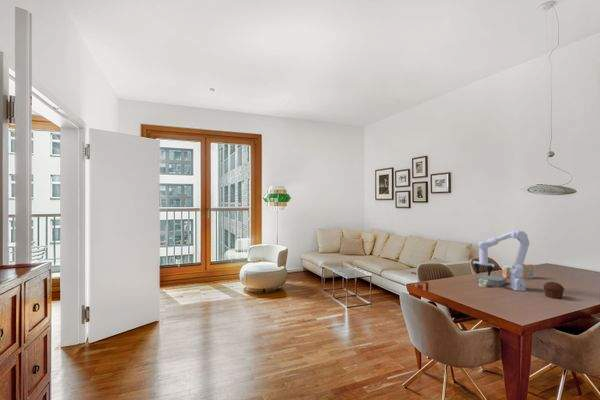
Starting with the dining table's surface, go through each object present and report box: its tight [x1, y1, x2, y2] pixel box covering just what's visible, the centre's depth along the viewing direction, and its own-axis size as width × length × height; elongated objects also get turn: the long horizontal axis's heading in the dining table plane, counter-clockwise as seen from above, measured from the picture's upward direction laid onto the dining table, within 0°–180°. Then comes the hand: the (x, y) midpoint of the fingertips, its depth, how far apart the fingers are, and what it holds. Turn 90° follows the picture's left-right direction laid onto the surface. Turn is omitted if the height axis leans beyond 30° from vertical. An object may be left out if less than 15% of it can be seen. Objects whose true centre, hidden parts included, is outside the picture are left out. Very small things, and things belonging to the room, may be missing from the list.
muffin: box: [543, 281, 565, 300], centre depth 209 cm, size 12×11×10 cm
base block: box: [476, 273, 508, 287], centre depth 246 cm, size 16×16×4 cm
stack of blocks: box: [501, 262, 534, 280], centre depth 261 cm, size 21×6×12 cm, turn 85°
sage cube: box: [478, 279, 489, 288], centre depth 236 cm, size 5×5×5 cm
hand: (483, 274), depth 236 cm, fingers open, 7 cm apart
